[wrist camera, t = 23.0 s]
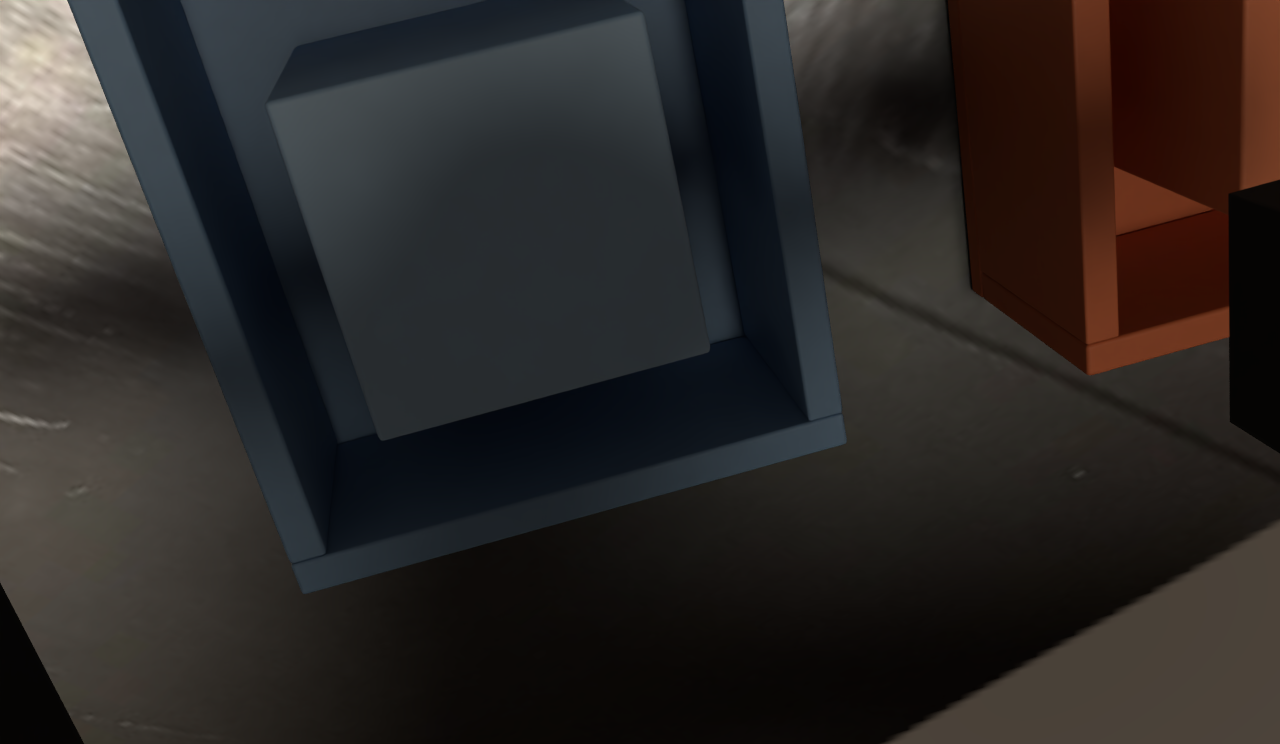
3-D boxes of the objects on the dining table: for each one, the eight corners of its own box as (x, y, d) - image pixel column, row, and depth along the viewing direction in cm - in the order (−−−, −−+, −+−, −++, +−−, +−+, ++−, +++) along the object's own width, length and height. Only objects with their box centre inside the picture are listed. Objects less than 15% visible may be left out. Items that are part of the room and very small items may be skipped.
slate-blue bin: (770, 344, 24) (848, 444, 20) (318, 466, 23) (301, 596, 19) (676, -211, 19) (751, -230, 15) (115, -86, 19) (37, -70, 15)
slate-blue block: (647, 252, 22) (712, 353, 17) (382, 321, 22) (379, 443, 17) (587, -25, 20) (644, 9, 15) (292, 46, 19) (263, 102, 15)
